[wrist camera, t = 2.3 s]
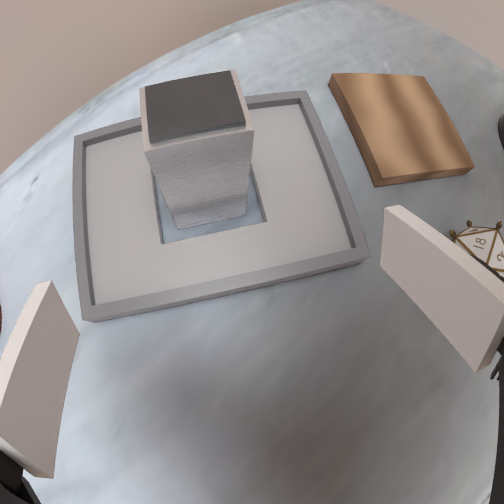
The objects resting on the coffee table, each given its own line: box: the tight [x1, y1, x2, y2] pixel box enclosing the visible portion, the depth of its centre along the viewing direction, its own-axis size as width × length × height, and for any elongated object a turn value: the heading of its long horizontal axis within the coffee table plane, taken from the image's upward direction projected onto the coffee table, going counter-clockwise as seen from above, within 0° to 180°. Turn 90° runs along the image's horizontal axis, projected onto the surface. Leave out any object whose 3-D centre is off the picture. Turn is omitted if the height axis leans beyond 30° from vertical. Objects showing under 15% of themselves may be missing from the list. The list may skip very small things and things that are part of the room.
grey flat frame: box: [73, 91, 370, 322], centre depth 28 cm, size 24×18×2 cm
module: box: [140, 70, 255, 230], centre depth 23 cm, size 6×5×13 cm
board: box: [328, 73, 475, 187], centre depth 32 cm, size 14×14×2 cm
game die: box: [450, 220, 504, 277], centre depth 25 cm, size 9×8×10 cm
